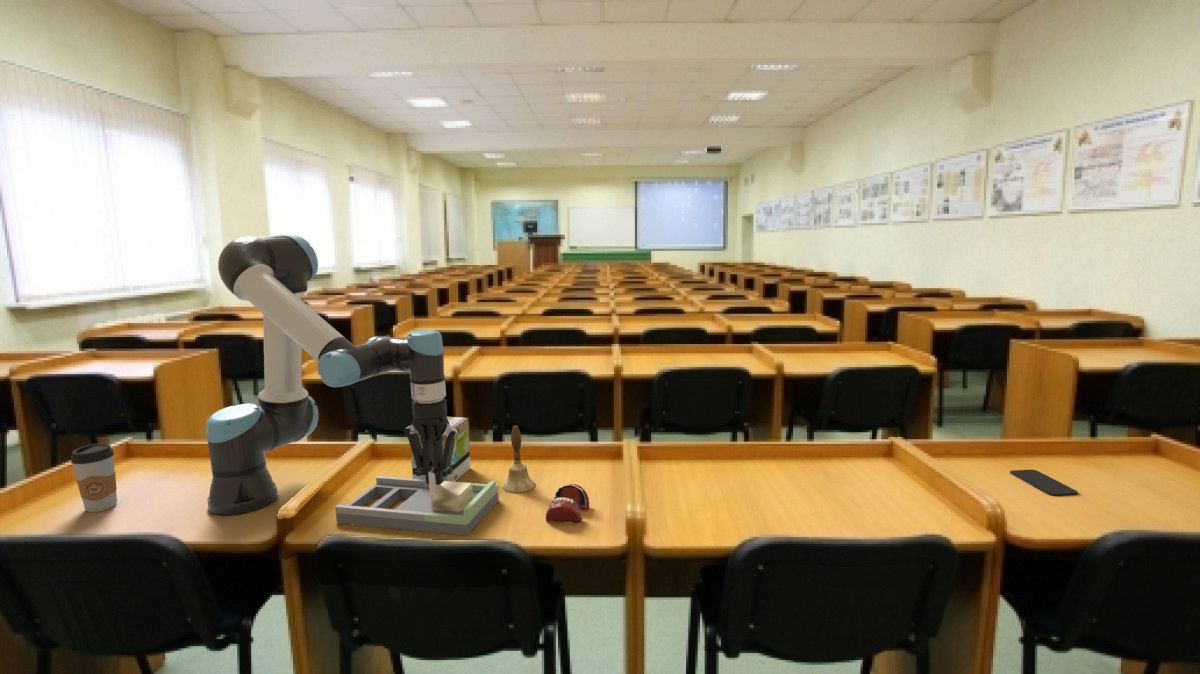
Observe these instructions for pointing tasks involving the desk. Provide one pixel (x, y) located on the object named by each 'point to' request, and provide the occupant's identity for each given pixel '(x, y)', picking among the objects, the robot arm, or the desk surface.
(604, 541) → the desk surface
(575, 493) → the teeth model
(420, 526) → the lane deck
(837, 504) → the desk surface
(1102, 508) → the desk surface
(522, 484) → the hand bell
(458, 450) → the tea box
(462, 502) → the block
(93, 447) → the coffee cup
